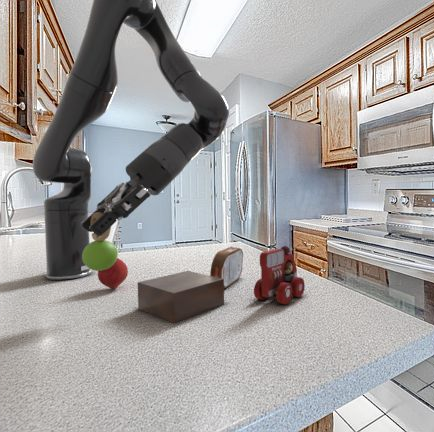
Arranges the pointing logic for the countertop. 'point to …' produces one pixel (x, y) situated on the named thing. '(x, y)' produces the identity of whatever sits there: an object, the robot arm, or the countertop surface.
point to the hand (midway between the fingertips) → (89, 230)
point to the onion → (113, 274)
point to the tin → (227, 265)
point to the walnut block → (180, 295)
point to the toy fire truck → (278, 276)
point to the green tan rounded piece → (99, 249)
